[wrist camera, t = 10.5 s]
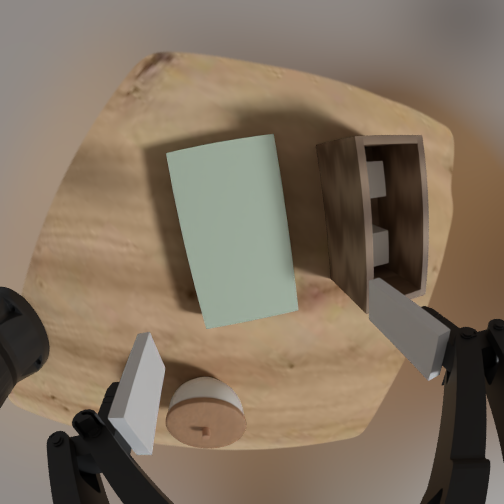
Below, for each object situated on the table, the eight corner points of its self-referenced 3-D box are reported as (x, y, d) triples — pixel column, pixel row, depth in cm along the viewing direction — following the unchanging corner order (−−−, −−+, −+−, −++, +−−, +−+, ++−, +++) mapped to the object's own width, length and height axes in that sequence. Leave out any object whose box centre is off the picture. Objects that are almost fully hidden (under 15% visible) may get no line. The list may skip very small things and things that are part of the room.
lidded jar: (156, 387, 38) (147, 432, 29) (206, 352, 37) (205, 399, 28) (206, 420, 41) (206, 464, 32) (255, 391, 40) (264, 436, 31)
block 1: (340, 196, 32) (356, 200, 28) (336, 163, 31) (352, 163, 27) (369, 192, 32) (386, 196, 29) (365, 161, 31) (382, 160, 27)
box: (382, 266, 36) (425, 294, 27) (330, 278, 36) (366, 313, 26) (372, 141, 31) (421, 135, 22) (315, 144, 31) (354, 136, 21)
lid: (291, 297, 36) (298, 310, 33) (207, 314, 35) (206, 329, 32) (267, 137, 30) (273, 133, 27) (171, 155, 30) (166, 153, 26)
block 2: (346, 259, 34) (360, 270, 31) (344, 229, 33) (359, 236, 30) (372, 253, 35) (388, 262, 31) (371, 223, 34) (388, 230, 30)
